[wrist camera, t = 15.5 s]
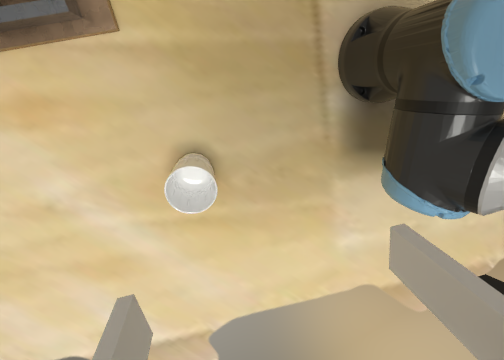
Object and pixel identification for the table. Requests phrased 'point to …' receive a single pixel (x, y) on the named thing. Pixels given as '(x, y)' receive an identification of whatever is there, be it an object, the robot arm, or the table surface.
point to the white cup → (191, 184)
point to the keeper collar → (52, 21)
